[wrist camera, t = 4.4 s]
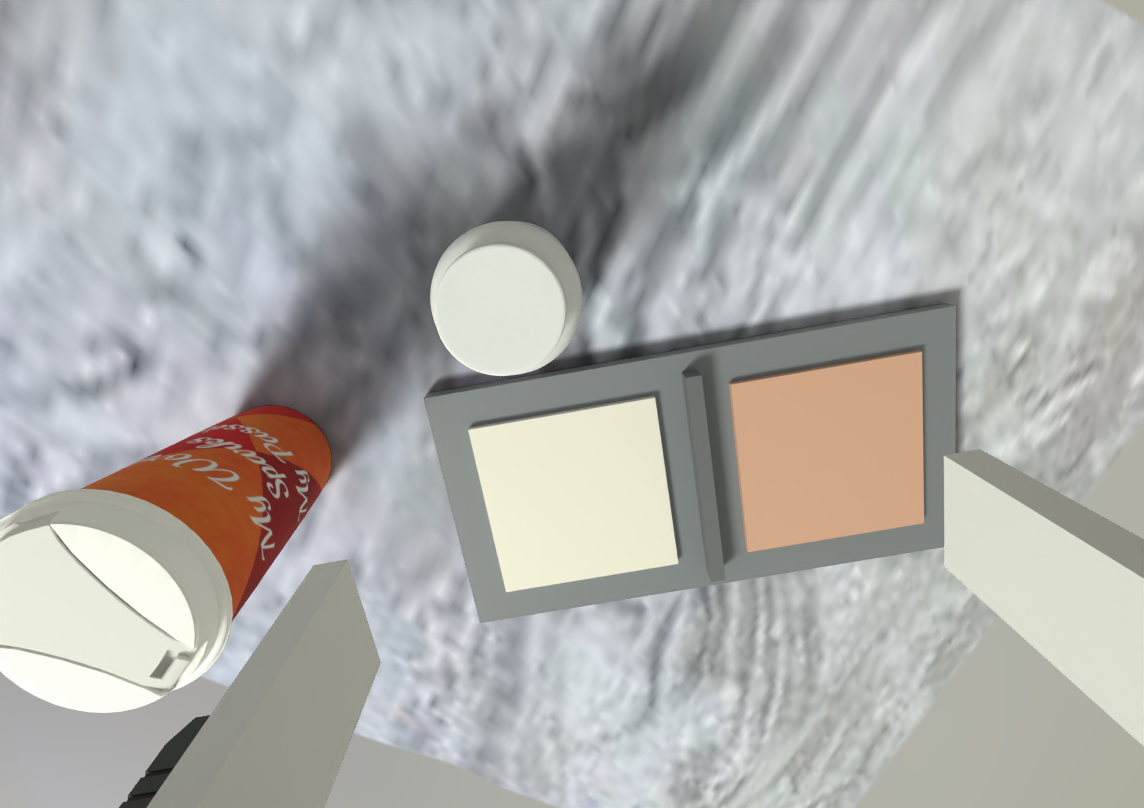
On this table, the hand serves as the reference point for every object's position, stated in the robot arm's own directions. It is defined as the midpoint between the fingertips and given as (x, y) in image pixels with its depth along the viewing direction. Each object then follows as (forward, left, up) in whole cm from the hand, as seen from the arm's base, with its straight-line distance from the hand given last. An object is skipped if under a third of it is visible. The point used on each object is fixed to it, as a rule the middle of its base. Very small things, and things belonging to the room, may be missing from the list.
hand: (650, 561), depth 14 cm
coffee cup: (+2, -18, -21) cm, 28 cm away
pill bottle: (-5, -3, -21) cm, 22 cm away
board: (+7, +5, -21) cm, 22 cm away
